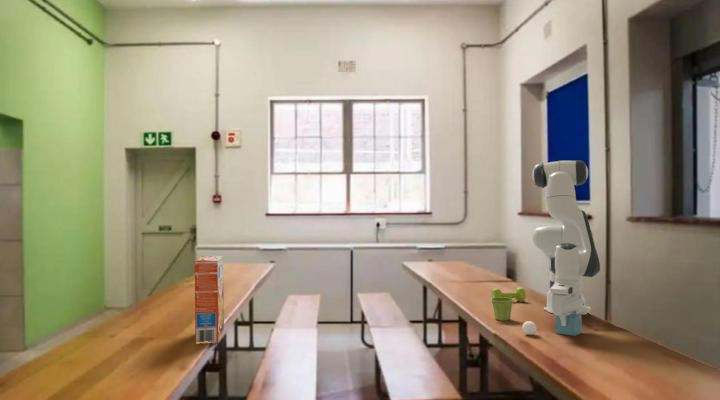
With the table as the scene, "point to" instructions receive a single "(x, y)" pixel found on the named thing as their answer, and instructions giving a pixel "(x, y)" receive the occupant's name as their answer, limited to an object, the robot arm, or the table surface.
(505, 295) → the dumbbell
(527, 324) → the ball
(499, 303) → the plant pot
